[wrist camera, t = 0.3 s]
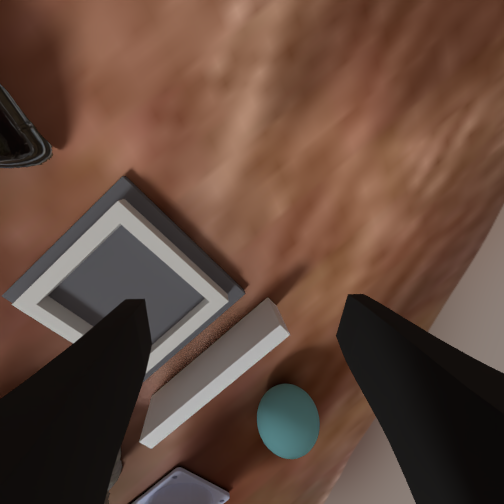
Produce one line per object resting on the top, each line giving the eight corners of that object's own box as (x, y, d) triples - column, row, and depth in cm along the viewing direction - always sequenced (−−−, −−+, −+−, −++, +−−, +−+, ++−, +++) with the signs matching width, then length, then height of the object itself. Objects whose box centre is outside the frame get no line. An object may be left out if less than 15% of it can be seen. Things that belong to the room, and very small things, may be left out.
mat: (142, 378, 21) (136, 396, 20) (8, 292, 17) (-14, 305, 16) (244, 290, 20) (247, 301, 18) (125, 176, 16) (115, 176, 14)
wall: (161, 402, 22) (151, 448, 19) (151, 396, 22) (139, 442, 18) (276, 305, 21) (290, 334, 17) (267, 296, 21) (280, 324, 17)
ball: (275, 421, 25) (291, 484, 20) (241, 395, 24) (248, 458, 18) (316, 389, 25) (343, 446, 20) (283, 360, 23) (304, 414, 18)
